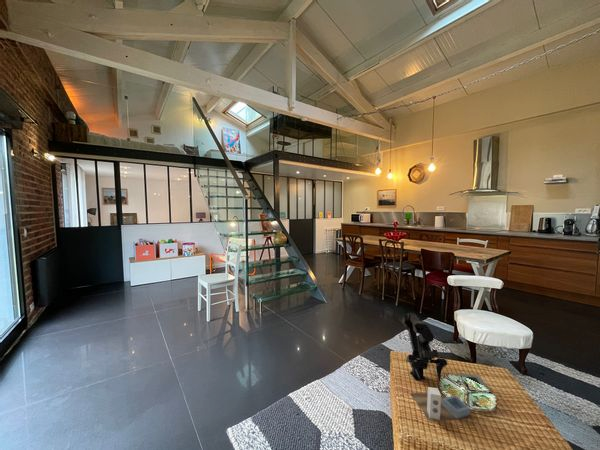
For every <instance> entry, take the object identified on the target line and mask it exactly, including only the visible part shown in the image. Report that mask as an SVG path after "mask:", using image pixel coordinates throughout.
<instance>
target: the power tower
mask: <svg viewBox="0 0 600 450" xmlns="http://www.w3.org/2000/svg"><path fill="white" fill-rule="evenodd" d="M439 391H440V390H439V388H438V387H431V386H428V387H427V392H428V397H427V412H428V415H429V418H432V419H437V420H440V407H441V394H440V392H439Z"/></svg>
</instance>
